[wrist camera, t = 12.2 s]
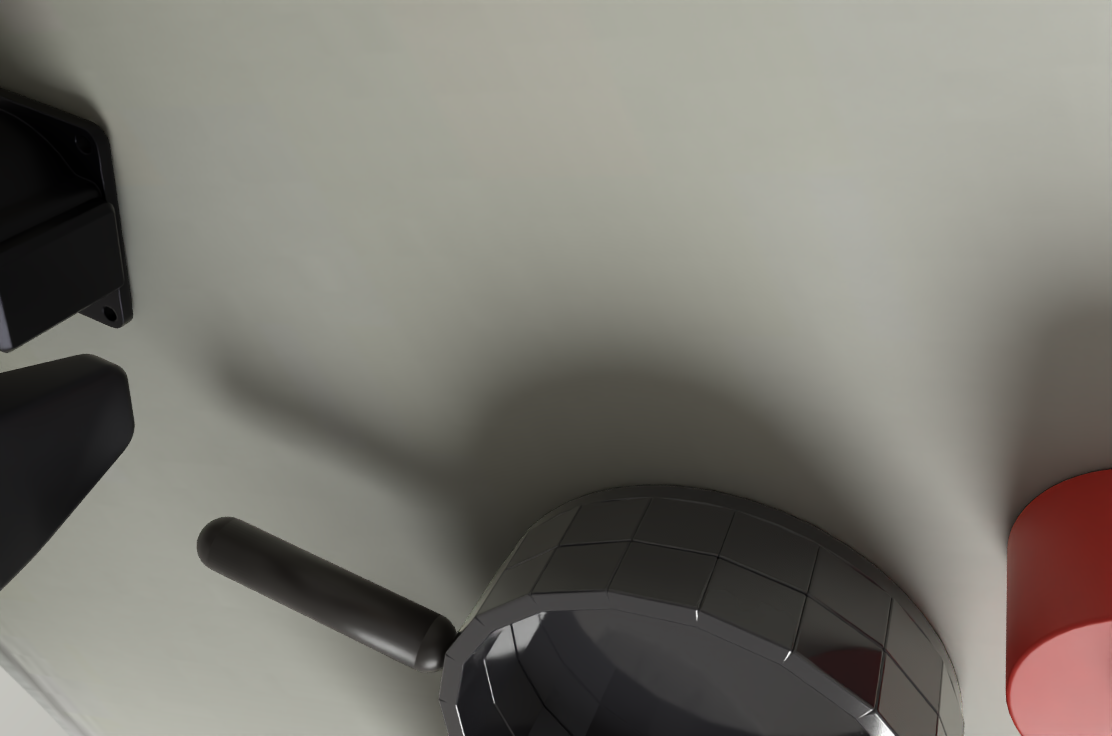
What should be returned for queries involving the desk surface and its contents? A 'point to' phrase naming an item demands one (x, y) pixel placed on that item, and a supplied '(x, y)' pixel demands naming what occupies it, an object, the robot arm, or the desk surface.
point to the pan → (693, 630)
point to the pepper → (1061, 611)
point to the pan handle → (327, 593)
